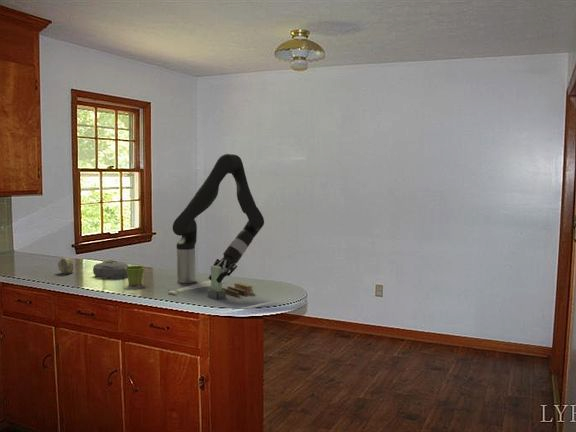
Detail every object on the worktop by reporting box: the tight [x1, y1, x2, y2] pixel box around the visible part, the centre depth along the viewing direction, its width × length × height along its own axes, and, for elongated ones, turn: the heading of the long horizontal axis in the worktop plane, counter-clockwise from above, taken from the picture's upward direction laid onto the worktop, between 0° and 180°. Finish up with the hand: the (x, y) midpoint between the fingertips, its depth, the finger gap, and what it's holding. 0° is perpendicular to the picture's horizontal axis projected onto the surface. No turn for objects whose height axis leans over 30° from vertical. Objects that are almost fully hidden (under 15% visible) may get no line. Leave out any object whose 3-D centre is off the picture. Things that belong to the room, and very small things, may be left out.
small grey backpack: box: [92, 259, 129, 279], centre depth 279 cm, size 15×8×20 cm
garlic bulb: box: [57, 256, 75, 275], centre depth 287 cm, size 9×8×10 cm
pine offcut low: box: [231, 285, 254, 296], centre depth 237 cm, size 4×12×2 cm, turn 42°
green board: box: [210, 265, 223, 292], centre depth 228 cm, size 2×6×12 cm, turn 42°
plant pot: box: [125, 265, 145, 287], centre depth 258 cm, size 9×9×9 cm
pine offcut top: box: [233, 282, 253, 291], centre depth 237 cm, size 3×10×2 cm, turn 42°
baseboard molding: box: [168, 279, 227, 296], centre depth 249 cm, size 31×3×12 cm
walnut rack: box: [222, 285, 256, 299], centre depth 236 cm, size 10×14×3 cm
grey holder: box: [206, 288, 227, 300], centre depth 228 cm, size 5×8×4 cm, turn 42°
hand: (214, 280), depth 227 cm, fingers closed on green board, 5 cm apart
